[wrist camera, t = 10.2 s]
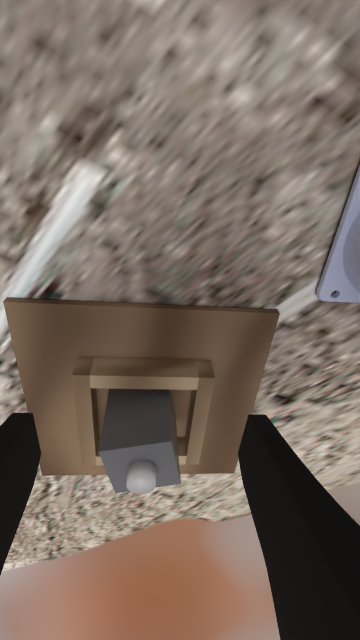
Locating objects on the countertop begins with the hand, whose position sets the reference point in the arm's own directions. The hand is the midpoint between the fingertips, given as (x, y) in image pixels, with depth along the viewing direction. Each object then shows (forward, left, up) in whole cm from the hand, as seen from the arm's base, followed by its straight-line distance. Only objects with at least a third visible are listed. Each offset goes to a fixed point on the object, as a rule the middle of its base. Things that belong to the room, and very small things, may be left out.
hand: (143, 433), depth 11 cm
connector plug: (0, +8, -9) cm, 12 cm away
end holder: (0, +8, -9) cm, 12 cm away
